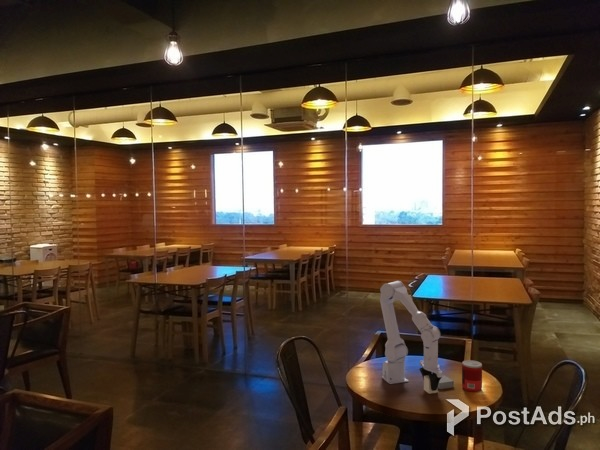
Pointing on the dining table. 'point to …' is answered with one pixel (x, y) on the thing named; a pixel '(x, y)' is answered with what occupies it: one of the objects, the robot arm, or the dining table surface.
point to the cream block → (428, 385)
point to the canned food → (472, 376)
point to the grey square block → (445, 383)
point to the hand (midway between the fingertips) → (430, 387)
